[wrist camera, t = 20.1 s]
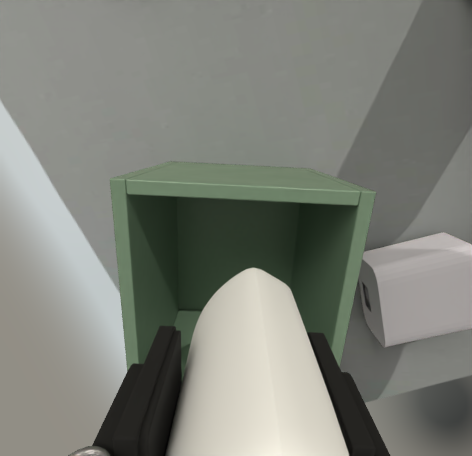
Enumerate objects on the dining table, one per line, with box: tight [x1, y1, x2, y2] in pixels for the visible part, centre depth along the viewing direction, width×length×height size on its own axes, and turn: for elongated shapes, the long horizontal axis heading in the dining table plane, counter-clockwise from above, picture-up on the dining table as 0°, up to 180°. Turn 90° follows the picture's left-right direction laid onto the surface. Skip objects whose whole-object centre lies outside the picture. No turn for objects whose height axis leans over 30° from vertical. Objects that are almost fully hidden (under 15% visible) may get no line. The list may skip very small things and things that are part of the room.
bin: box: [110, 162, 376, 380], centre depth 22 cm, size 17×14×13 cm
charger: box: [358, 232, 472, 347], centre depth 27 cm, size 5×9×15 cm
